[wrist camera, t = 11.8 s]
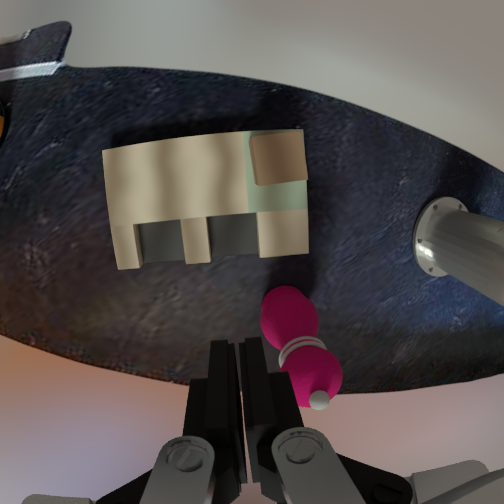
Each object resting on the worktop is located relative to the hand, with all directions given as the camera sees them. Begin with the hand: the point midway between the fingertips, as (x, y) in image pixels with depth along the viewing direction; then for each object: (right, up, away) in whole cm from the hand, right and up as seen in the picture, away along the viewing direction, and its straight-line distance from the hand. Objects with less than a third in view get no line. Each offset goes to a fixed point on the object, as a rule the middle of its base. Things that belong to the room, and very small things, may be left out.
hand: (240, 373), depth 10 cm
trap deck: (-5, +11, +27) cm, 29 cm away
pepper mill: (+5, -3, +32) cm, 32 cm away
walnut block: (+3, +15, +24) cm, 28 cm away
